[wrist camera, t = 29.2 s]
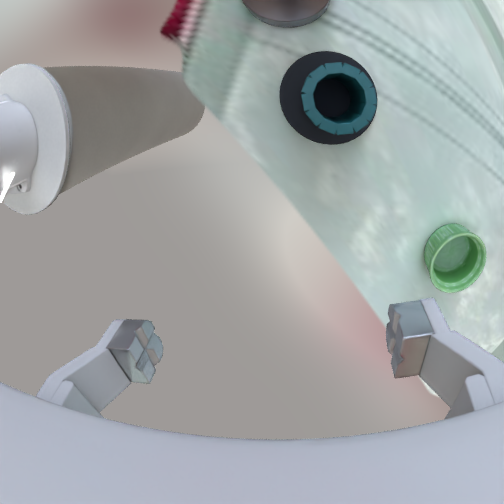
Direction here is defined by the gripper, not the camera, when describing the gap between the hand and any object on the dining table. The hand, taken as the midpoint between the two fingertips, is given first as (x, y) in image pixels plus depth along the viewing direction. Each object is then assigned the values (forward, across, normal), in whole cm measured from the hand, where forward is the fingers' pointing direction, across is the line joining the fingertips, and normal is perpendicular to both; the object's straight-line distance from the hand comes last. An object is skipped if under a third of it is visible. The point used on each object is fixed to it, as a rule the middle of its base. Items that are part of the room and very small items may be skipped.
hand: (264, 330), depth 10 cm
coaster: (+28, -6, -6) cm, 30 cm away
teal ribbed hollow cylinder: (+28, -6, -6) cm, 29 cm away
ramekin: (+28, -21, +15) cm, 38 cm away
